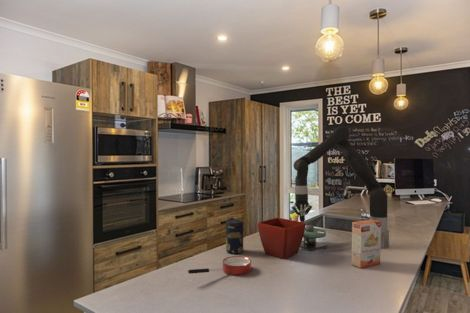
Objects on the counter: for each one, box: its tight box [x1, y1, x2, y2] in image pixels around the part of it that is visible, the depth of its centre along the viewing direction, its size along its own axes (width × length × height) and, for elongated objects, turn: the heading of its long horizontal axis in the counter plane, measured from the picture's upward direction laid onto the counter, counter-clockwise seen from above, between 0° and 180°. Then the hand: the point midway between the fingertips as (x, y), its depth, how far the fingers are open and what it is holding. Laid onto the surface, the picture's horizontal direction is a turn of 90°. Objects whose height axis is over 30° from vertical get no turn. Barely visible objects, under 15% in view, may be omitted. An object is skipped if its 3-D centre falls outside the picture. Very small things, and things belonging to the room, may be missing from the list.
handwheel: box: [292, 215, 327, 239], centre depth 179 cm, size 20×18×9 cm
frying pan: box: [187, 255, 252, 276], centre depth 135 cm, size 32×13×6 cm, turn 135°
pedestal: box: [299, 237, 328, 252], centre depth 179 cm, size 14×14×7 cm
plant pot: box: [257, 217, 307, 260], centre depth 165 cm, size 19×19×17 cm
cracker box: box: [351, 219, 382, 269], centre depth 149 cm, size 14×6×21 cm, turn 117°
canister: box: [225, 218, 244, 254], centre depth 168 cm, size 10×10×18 cm
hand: (302, 221), depth 185 cm, fingers closed
